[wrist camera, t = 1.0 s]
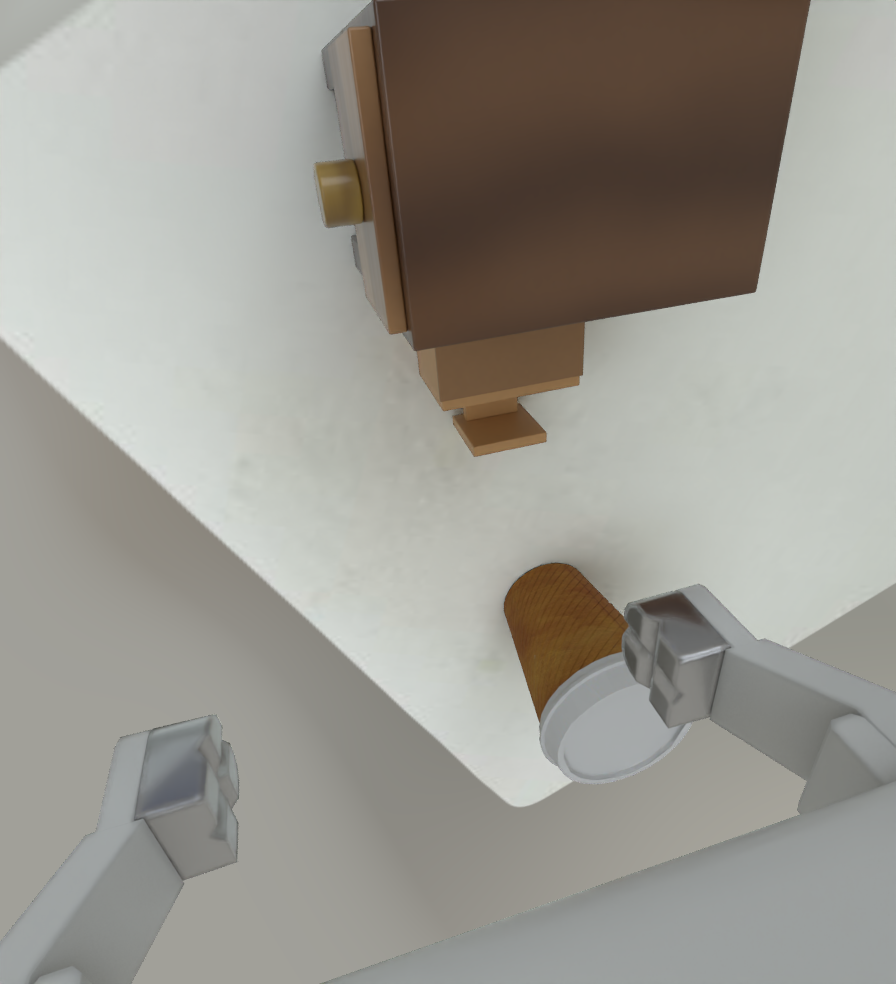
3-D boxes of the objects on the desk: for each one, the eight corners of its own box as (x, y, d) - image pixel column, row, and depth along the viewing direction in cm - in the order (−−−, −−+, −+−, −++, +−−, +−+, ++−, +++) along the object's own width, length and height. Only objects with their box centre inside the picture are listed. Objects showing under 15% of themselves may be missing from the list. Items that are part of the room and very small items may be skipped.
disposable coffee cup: (533, 663, 48) (606, 805, 38) (455, 610, 43) (516, 759, 33) (627, 584, 46) (729, 712, 36) (557, 520, 41) (653, 648, 31)
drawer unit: (276, 52, 24) (293, 2, 14) (593, 27, 27) (818, -33, 16) (318, 272, 29) (355, 362, 18) (585, 233, 31) (757, 292, 21)
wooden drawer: (405, 270, 30) (430, 295, 26) (542, 250, 31) (586, 270, 27) (423, 426, 35) (447, 469, 30) (542, 403, 36) (580, 441, 32)
